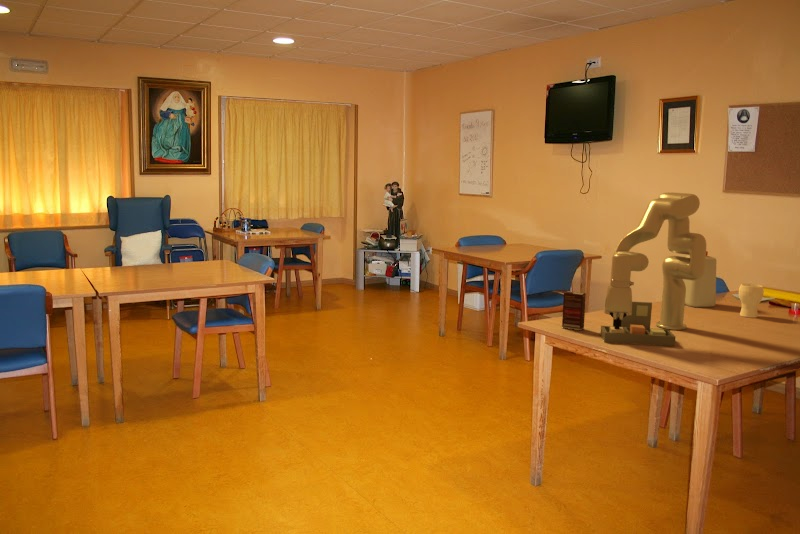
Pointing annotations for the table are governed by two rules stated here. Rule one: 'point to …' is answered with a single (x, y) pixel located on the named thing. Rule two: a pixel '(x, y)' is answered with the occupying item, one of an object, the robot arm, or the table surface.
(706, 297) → the beige rounded canister
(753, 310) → the cup
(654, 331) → the olive square block
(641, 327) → the terracotta key
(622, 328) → the tan square block
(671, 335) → the key pad frame
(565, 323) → the supplement box
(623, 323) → the card
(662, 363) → the table surface
